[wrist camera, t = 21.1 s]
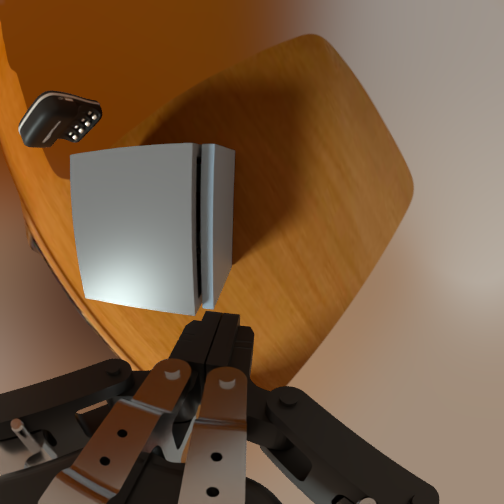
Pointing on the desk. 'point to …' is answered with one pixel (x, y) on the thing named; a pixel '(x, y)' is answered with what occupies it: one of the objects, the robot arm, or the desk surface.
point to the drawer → (215, 219)
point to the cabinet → (138, 226)
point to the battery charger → (58, 119)
